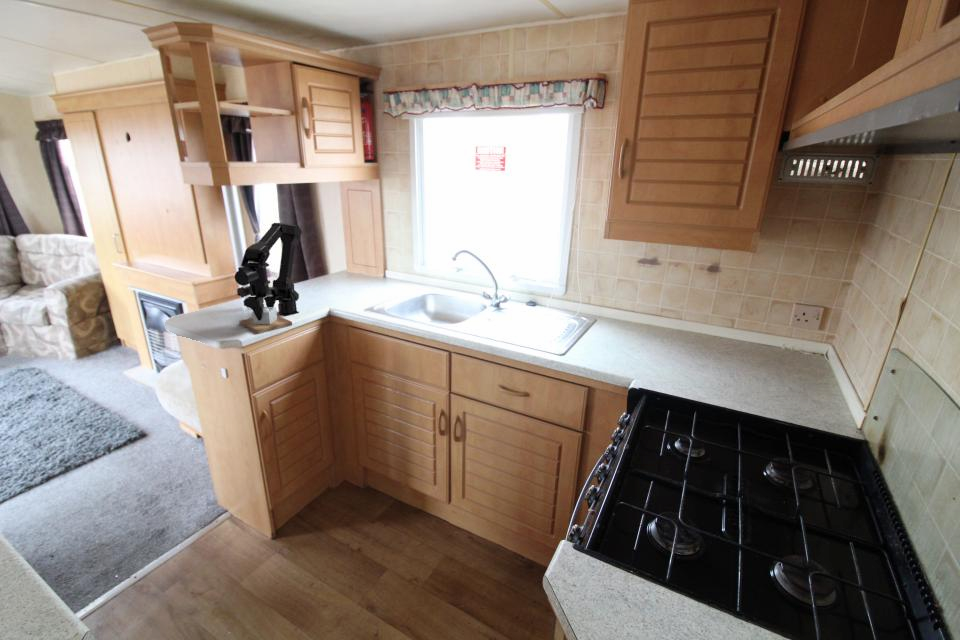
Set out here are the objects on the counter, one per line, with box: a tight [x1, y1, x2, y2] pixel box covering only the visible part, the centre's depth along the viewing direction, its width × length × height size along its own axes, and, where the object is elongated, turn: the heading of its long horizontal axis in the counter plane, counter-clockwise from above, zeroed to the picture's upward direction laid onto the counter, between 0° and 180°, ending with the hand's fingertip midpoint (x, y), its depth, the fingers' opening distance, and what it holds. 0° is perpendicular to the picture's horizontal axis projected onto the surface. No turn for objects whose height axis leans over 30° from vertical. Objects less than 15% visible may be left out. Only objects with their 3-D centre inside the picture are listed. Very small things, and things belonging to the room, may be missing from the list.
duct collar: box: [251, 306, 278, 324], centre depth 184 cm, size 7×7×5 cm
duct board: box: [238, 308, 293, 335], centre depth 184 cm, size 14×16×6 cm
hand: (264, 316), depth 184 cm, fingers open, 9 cm apart
